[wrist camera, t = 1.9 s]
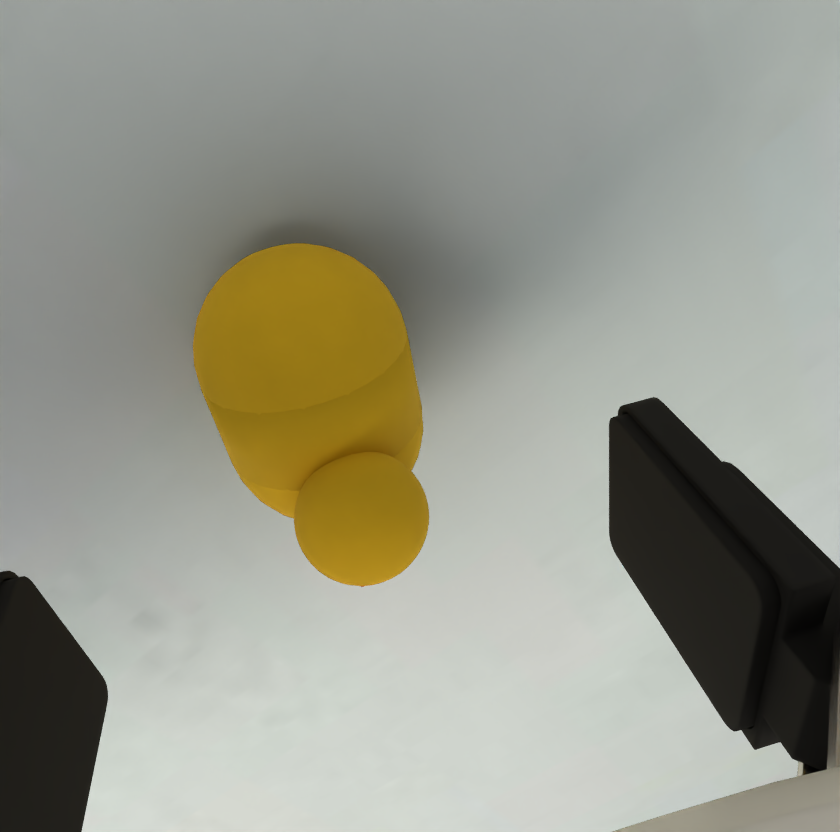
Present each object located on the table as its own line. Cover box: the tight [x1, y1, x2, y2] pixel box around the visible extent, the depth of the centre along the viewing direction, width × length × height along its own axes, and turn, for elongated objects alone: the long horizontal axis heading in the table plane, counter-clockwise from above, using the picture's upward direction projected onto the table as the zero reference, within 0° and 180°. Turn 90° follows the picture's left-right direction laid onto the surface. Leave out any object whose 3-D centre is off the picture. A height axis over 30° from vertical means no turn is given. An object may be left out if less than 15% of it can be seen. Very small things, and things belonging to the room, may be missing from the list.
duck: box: [193, 243, 429, 587], centre depth 14 cm, size 7×5×6 cm
